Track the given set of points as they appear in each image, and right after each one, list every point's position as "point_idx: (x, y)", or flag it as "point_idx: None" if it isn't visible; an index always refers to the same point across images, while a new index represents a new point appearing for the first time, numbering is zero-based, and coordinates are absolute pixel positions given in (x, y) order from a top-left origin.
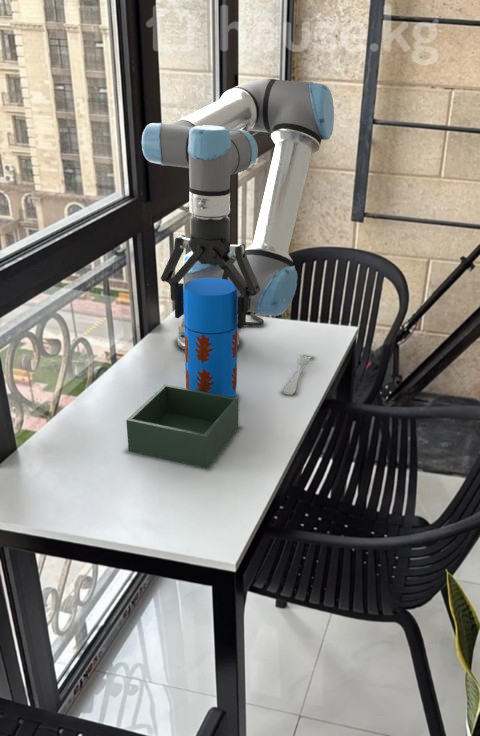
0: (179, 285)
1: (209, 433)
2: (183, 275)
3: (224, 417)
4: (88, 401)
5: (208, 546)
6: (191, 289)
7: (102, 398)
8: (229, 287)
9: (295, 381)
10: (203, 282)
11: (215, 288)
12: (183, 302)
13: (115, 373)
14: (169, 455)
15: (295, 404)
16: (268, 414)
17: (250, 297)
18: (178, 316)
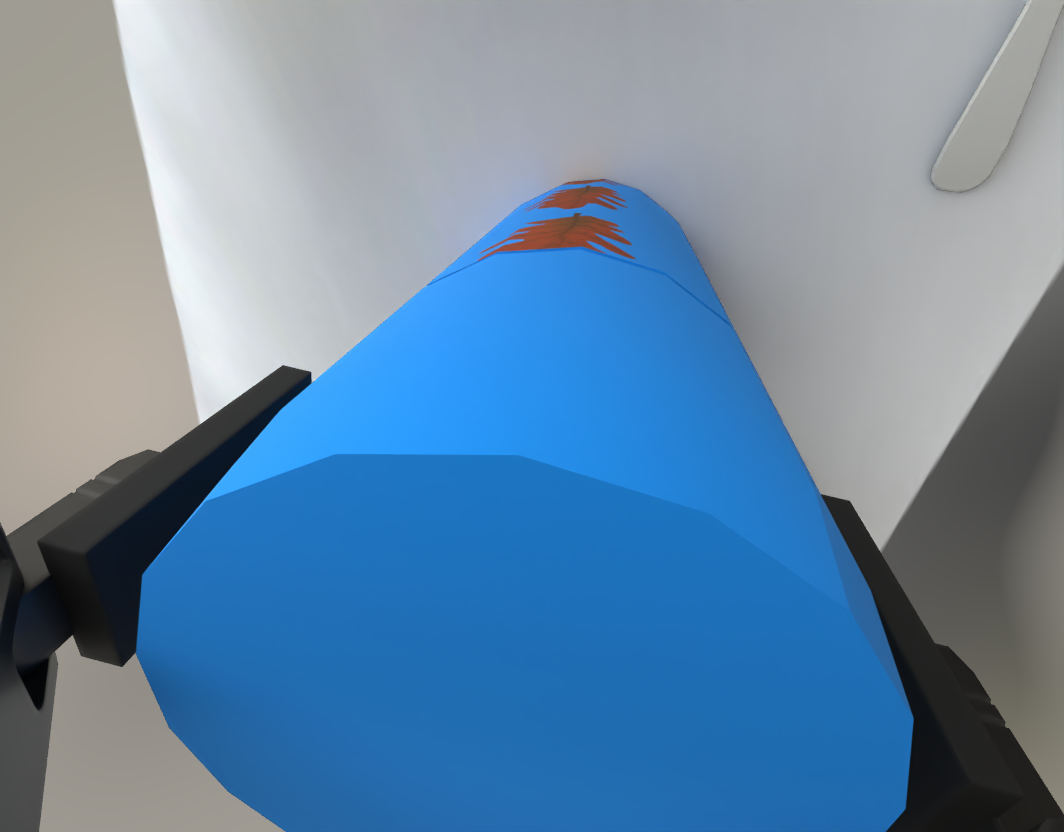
0: (95, 615)
1: None
2: (16, 789)
3: None
4: (212, 369)
5: None
6: (315, 822)
7: (237, 344)
8: (778, 795)
9: (1037, 44)
10: (343, 661)
11: (573, 812)
12: (251, 425)
13: (156, 131)
14: None
15: (963, 277)
16: (823, 374)
17: (1054, 814)
18: None
